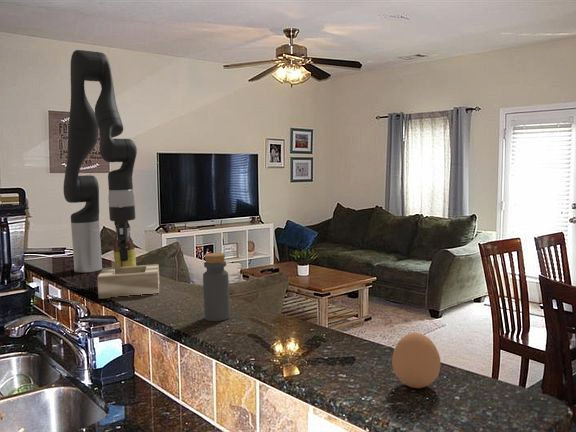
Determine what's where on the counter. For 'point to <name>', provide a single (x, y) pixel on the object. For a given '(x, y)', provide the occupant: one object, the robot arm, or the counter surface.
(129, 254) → the sauce bottle
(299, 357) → the counter surface
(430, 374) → the egg
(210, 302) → the bottle
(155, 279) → the dock block
